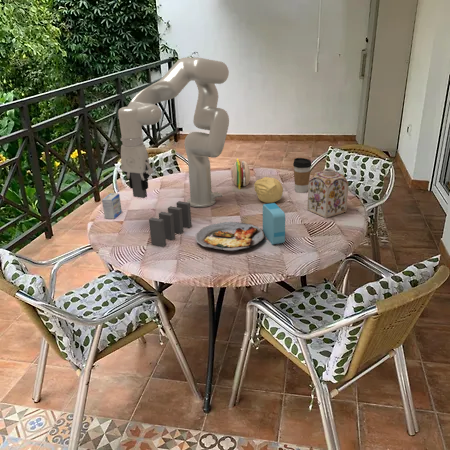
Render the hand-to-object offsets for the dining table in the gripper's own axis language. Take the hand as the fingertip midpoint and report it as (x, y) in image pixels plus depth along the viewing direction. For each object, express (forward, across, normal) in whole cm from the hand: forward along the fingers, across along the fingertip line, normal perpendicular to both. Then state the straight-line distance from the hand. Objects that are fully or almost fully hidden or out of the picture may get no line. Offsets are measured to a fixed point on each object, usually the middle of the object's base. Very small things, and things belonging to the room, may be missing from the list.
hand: (139, 187), depth 172 cm
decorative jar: (+18, +61, +44) cm, 77 cm away
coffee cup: (+19, +44, +64) cm, 80 cm away
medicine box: (+17, -20, +5) cm, 26 cm away
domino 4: (+17, +15, +1) cm, 22 cm away
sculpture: (+18, +34, +46) cm, 61 cm away
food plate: (+17, +37, +3) cm, 41 cm away
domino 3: (+17, +15, -5) cm, 23 cm away
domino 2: (+16, +15, -11) cm, 25 cm away
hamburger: (+18, +14, +61) cm, 65 cm away
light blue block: (+17, +51, +10) cm, 55 cm away
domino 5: (+17, +15, +7) cm, 23 cm away
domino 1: (+4, 0, 0) cm, 4 cm away
